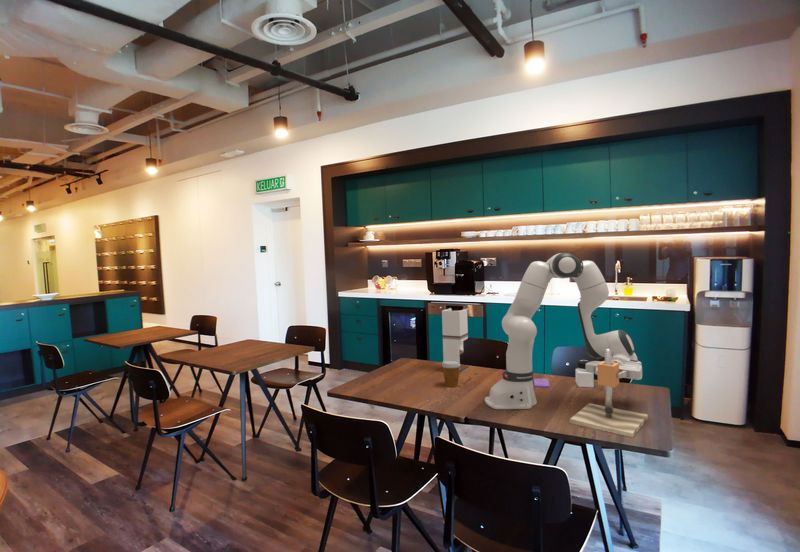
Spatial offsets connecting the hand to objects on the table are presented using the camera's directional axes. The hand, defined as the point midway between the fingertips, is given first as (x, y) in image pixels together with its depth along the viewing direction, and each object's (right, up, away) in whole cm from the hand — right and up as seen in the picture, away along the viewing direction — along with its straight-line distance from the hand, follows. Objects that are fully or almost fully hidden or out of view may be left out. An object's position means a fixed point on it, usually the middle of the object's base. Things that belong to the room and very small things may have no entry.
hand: (607, 374), depth 164 cm
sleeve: (+1, -4, +1) cm, 4 cm away
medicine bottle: (+11, -16, +46) cm, 50 cm away
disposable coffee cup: (-53, -18, +53) cm, 78 cm away
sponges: (-9, -17, +50) cm, 54 cm away
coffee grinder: (-47, -17, +81) cm, 95 cm away
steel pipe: (+1, -17, +2) cm, 17 cm away
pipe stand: (+1, -18, +2) cm, 18 cm away
